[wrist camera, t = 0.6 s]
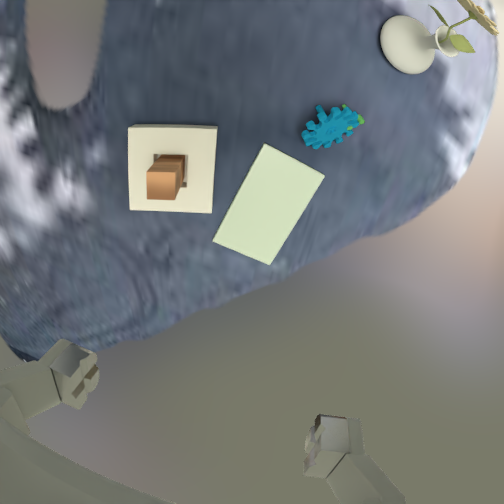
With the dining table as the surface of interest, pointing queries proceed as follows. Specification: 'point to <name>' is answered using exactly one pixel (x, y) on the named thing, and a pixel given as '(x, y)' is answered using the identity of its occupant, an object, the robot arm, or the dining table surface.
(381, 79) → the dining table surface
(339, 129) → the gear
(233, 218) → the mat
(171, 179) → the peg
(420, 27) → the flower in vase
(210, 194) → the socket block
